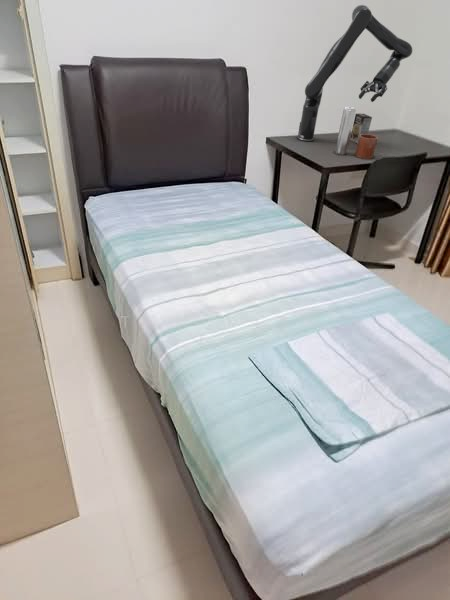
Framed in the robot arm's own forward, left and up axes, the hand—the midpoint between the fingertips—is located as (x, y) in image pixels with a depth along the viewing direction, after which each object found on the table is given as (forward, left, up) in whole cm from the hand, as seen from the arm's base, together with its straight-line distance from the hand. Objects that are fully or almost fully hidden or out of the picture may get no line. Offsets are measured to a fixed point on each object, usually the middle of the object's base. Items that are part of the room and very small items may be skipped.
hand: (365, 99), depth 241 cm
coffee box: (-16, +17, -29) cm, 37 cm away
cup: (+10, 0, -28) cm, 30 cm away
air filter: (+2, -11, -29) cm, 31 cm away
